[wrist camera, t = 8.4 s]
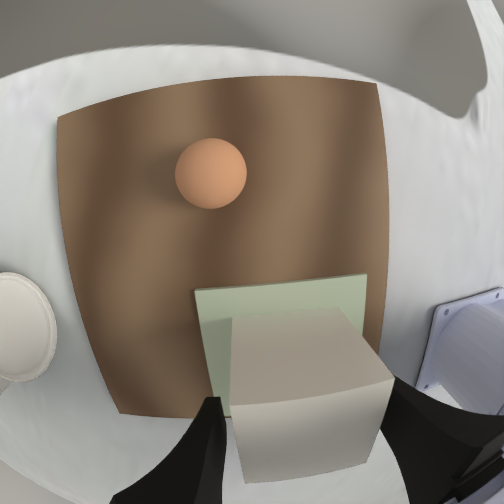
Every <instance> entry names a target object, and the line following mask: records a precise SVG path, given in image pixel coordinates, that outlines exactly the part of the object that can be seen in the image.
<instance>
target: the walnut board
mask: <svg viewBox="0 0 504 504" xmlns="http://www.w3.org/2000/svg"><path fill="white" fill-rule="evenodd" d="M207 138H216V139H221V140H224V141H227V142H229V143H230V144H232V145H233V146H235V147H236V148H237V149H238V151H239V152H240V153H241V155H242V156H243V158H244V161H245V164H246V169H247V176H246V182H245V185H244V187H243V189H242V191H241V193H240V194H239V195H238V197H237V198H236V199H235V200H233V201H232V202H231V203H229V204H227V205H225V206H223V207H220V208H215V209H206V208H200V207H197V206H195V205H193V204H191V203H190V202H188V201H187V200H186V199H185V198H184V197H183V196H182V194H181V193H180V191H179V189H178V187H177V184H176V180H175V169H176V164H177V161H178V159H179V157H180V155H181V154H182V153H183V151H184V150H185V149H186V148H187V147H188V146H190V145H191V144H193V143H194V142H197V141H199V140H202V139H207ZM57 177H58V193H59V204H60V213H61V222H62V229H63V236H64V242H65V248H66V254H67V259H68V264H69V269H70V274H71V278H72V282H73V287H74V291H75V295H76V298H77V302H78V306H79V309H80V313H81V316H82V320H83V323H84V326H85V329H86V332H87V335H88V338H89V341H90V344H91V347H92V350H93V353H94V355H95V358H96V361H97V363H98V366H99V368H100V371H101V373H102V376H103V378H104V381H105V383H106V385H107V387H108V390H109V392H110V394H111V396H112V399H113V401H114V403H115V405H116V407H117V409H118V411H119V413H121V414H130V415H139V416H151V417H166V418H195V417H196V415H197V413H198V411H199V409H200V407H201V405H202V403H203V401H204V399H205V398H206V397H214V395H213V390H212V386H211V381H210V376H209V371H208V366H207V361H206V356H205V351H204V345H203V340H202V334H201V328H200V322H199V316H198V310H197V304H196V298H195V289H201V288H214V287H227V286H240V285H252V284H263V283H274V282H284V281H295V280H304V279H314V278H323V277H332V276H341V275H350V274H358V273H366V274H367V286H366V301H365V313H364V323H363V333H362V337H363V338H364V339H365V340H366V342H367V343H368V344H369V345H370V347H371V348H372V349H373V350H374V352H375V353H376V354H377V355H378V351H379V345H380V338H381V331H382V324H383V316H384V308H385V298H386V287H387V274H388V256H389V188H388V170H387V157H386V146H385V137H384V129H383V121H382V114H381V107H380V101H379V95H378V90H377V84H376V83H370V82H363V81H355V80H347V79H337V78H325V77H309V76H251V77H234V78H222V79H212V80H203V81H196V82H189V83H182V84H176V85H170V86H165V87H159V88H154V89H150V90H145V91H141V92H136V93H132V94H128V95H124V96H121V97H117V98H113V99H110V100H106V101H103V102H100V103H96V104H93V105H90V106H87V107H84V108H81V109H78V110H76V111H73V112H70V113H67V114H65V115H62V116H60V117H58V120H57ZM224 417H225V418H232V417H231V416H224Z"/></svg>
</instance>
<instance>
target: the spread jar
mask: <svg viewBox="0 0 504 504" xmlns="http://www.w3.org/2000/svg"><path fill="white" fill-rule="evenodd" d="M56 347H57V325H56V319H55V316H54V313H53V309H52V307H51V305H50V303H49V301H48V299H47V298H46V296H45V295H44V293H43V291H42V290H41V289H40V288H39V287H38V286H37V285H36V284H35V283H34V282H32V281H31V280H30V279H28V278H26V277H24V276H23V275H20V274H16V273H13V272H3V273H0V395H1V393H2V392H3V391H4V390H5V389H6V388H7V387H8V386H9V385H10V383H11V382H12V381H14V382H25V381H30V380H33V379H35V378H37V377H39V376H40V375H41V374H42V373H43V372H45V371H46V369H47V368H48V367H49V365H50V364H51V362H52V359H53V357H54V354H55V351H56Z"/></svg>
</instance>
